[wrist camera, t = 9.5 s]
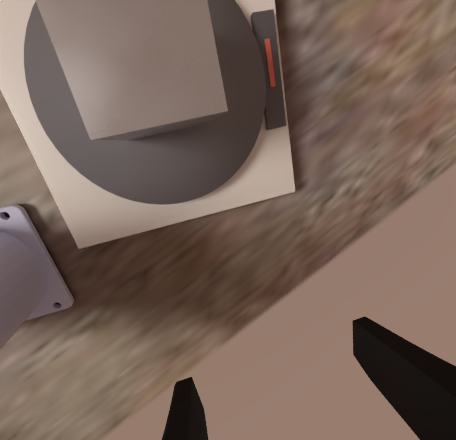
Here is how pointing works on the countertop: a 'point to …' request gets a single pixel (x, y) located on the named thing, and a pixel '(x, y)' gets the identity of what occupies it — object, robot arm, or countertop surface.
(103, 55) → the block
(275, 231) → the countertop surface
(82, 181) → the kitchen scale
